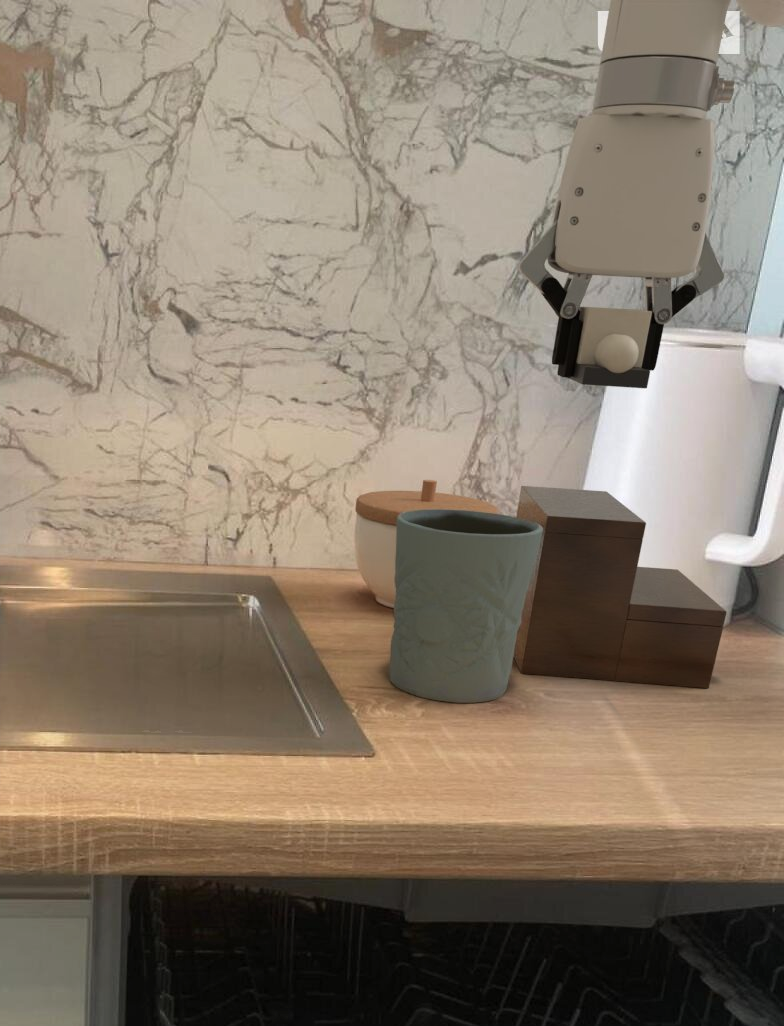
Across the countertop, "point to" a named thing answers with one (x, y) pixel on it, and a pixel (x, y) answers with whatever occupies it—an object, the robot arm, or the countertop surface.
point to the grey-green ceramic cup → (459, 601)
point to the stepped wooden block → (609, 599)
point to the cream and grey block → (612, 347)
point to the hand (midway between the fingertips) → (600, 375)
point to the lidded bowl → (395, 530)
